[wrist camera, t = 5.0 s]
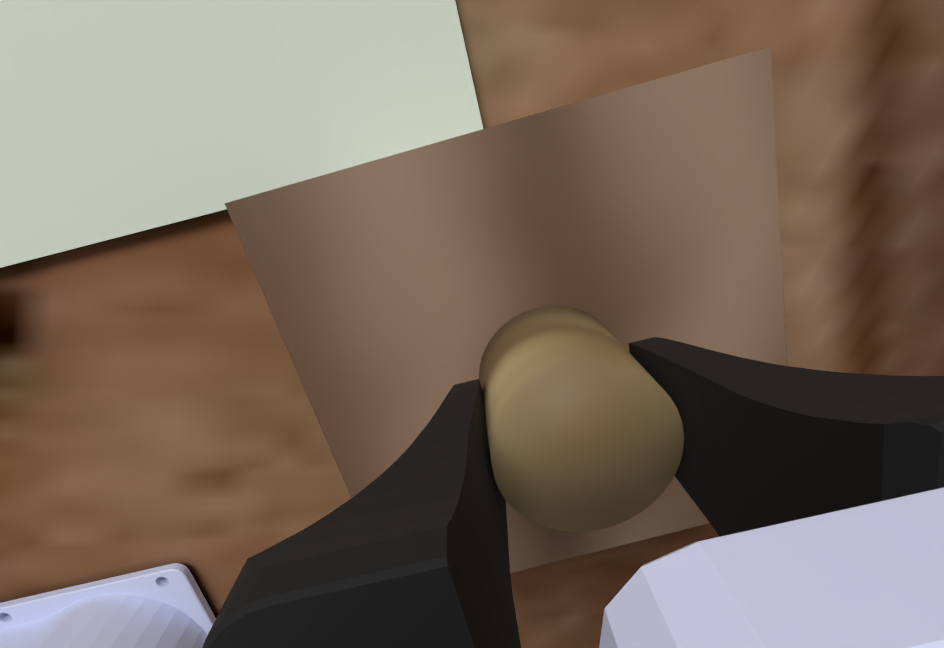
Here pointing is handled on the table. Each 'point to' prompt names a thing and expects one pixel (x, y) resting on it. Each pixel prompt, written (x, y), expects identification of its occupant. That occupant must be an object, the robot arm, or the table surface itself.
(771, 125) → the lid
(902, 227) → the table surface
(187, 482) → the table surface
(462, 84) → the mat
